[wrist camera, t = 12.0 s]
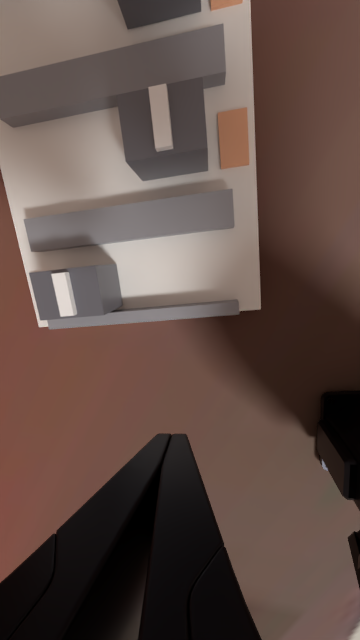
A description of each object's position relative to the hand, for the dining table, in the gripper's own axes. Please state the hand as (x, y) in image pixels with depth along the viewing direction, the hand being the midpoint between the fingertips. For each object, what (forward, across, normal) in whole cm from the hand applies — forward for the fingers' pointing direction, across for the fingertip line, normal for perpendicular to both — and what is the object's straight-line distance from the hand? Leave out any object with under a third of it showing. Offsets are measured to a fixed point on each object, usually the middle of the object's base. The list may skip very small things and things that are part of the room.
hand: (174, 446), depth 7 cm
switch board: (+12, +4, -12) cm, 17 cm away
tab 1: (+10, +7, -4) cm, 13 cm away
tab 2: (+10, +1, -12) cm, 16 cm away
